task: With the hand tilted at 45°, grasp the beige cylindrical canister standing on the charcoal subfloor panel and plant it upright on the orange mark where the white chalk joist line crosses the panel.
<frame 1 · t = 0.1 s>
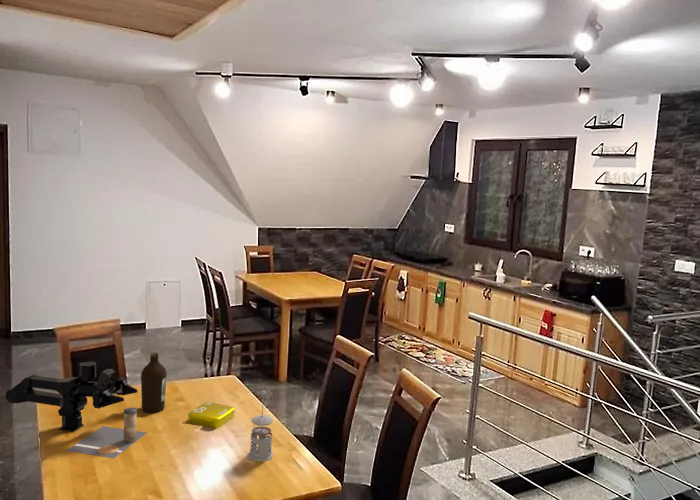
hand: (130, 395, 220), 17 cm above the table, fingers open, 9 cm apart
beige cylindrical canister: (129, 440, 215), point 1 cm above the table, touching subfloor panel
element tile: (211, 420, 242), on the table
olive oil: (153, 409, 249), on the table
french press: (259, 454, 213), on the table
subfloor panel: (108, 445, 214), on the table
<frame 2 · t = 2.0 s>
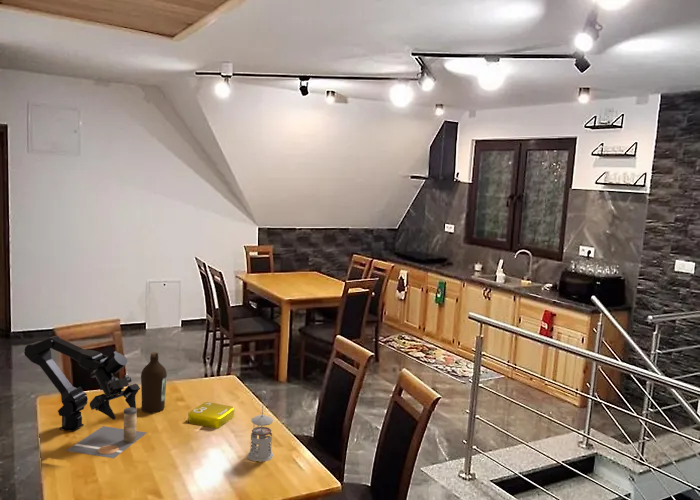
hand: (125, 415, 216), 11 cm above the table, fingers open, 9 cm apart
nothing on the table moved.
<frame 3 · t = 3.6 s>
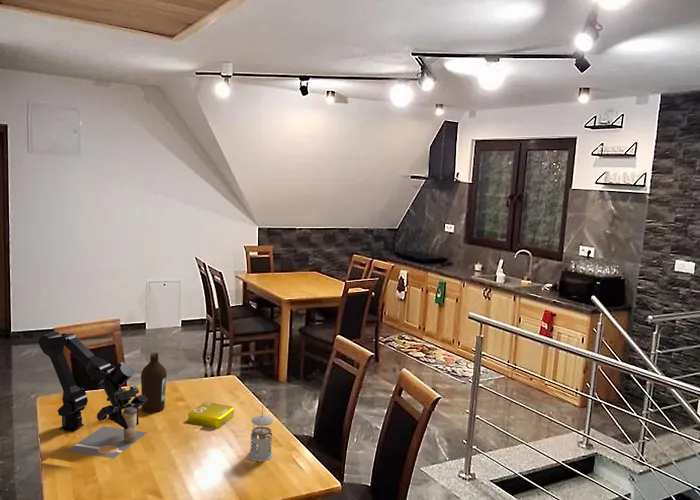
hand: (132, 426, 214), 7 cm above the table, fingers closed on beige cylindrical canister, 4 cm apart
beige cylindrical canister: (129, 440, 215), point 2 cm above the table, touching gripper, subfloor panel
everything else where it was.
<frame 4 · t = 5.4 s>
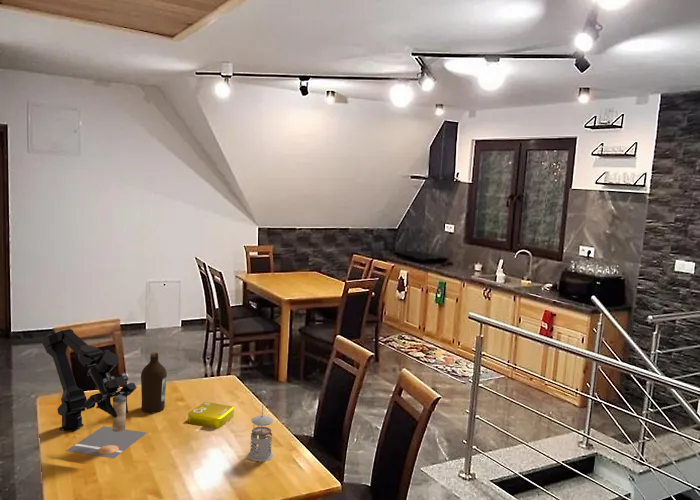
hand: (121, 415, 209), 13 cm above the table, fingers closed on beige cylindrical canister, 4 cm apart
beige cylindrical canister: (118, 429, 210), point 8 cm above the table, touching gripper
everything else where it was.
when the fingers open (8 cm above the table, at t = 7.3 s): beige cylindrical canister drops 1 cm, resting on subfloor panel.
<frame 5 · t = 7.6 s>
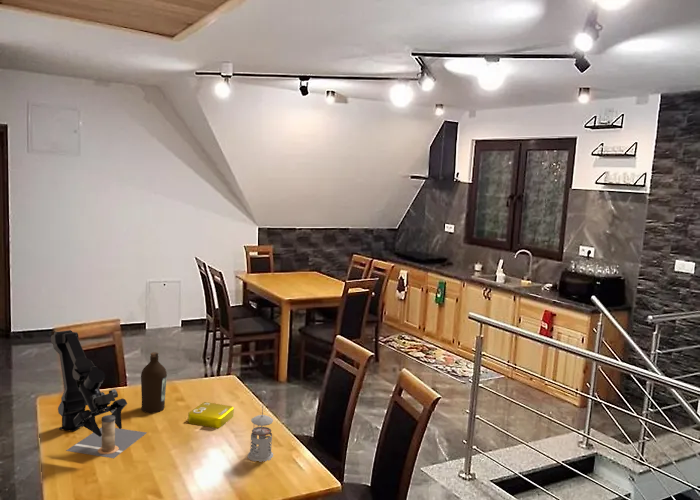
hand: (111, 432, 205), 9 cm above the table, fingers open, 8 cm apart
beige cylindrical canister: (108, 449, 207), point 2 cm above the table, touching subfloor panel
everything else where it was.
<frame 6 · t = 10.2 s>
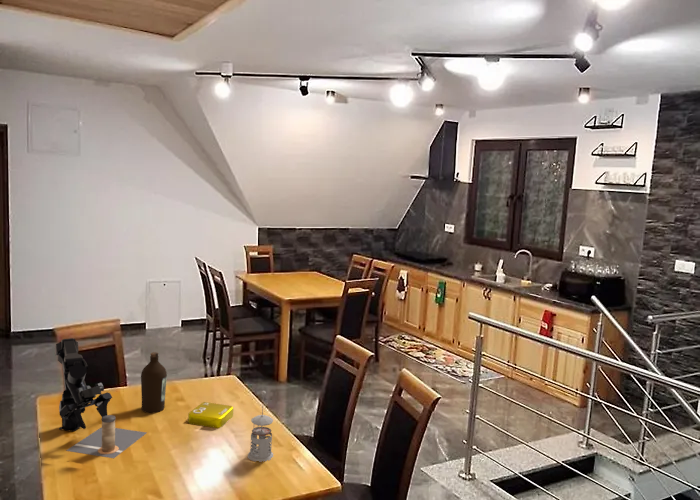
hand: (96, 424, 210), 9 cm above the table, fingers open, 9 cm apart
nothing on the table moved.
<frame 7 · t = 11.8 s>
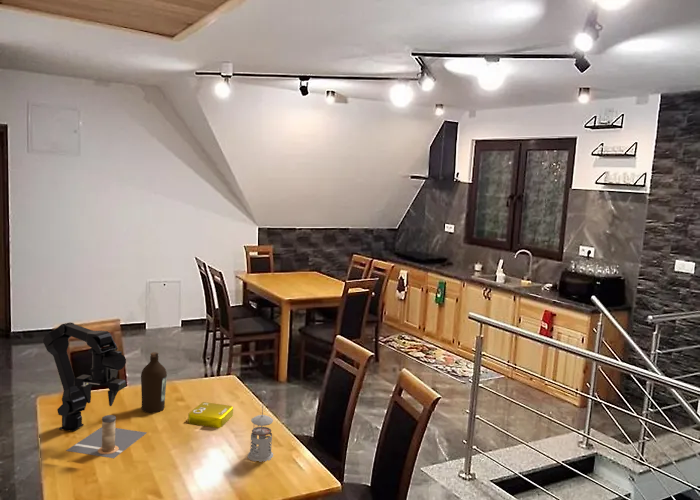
hand: (99, 404, 218), 13 cm above the table, fingers open, 9 cm apart
nothing on the table moved.
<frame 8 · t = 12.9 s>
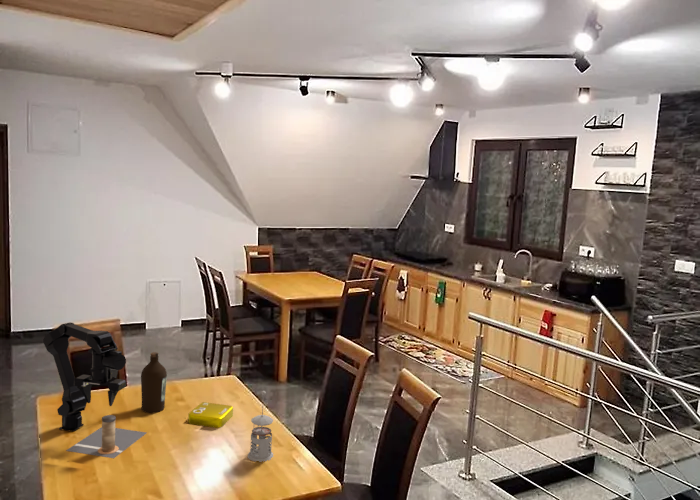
hand: (100, 404, 218), 13 cm above the table, fingers open, 9 cm apart
nothing on the table moved.
at the end: beige cylindrical canister 0.0 cm from the target spot, point 1.6 cm above the table; beige cylindrical canister tilted 0°; the gripper is holding nothing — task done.
